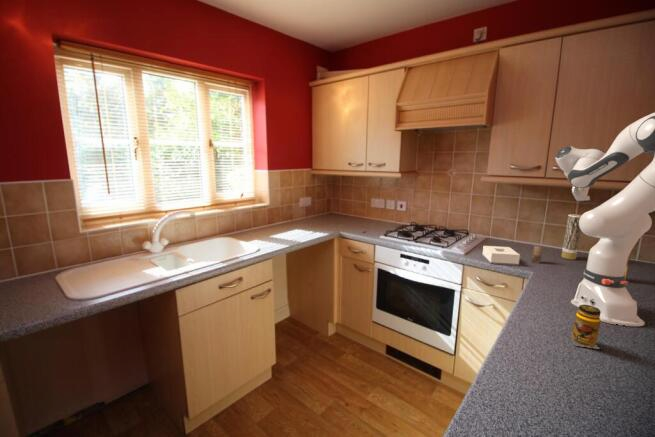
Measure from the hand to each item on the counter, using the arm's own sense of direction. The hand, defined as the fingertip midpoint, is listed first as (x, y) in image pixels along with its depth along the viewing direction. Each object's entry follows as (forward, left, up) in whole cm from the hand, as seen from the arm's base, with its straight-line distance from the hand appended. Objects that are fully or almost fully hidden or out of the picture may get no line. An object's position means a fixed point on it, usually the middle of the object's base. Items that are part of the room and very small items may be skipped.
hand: (589, 191), depth 157 cm
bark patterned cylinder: (+18, -6, -40) cm, 45 cm away
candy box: (-12, -9, -40) cm, 43 cm away
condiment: (-72, +37, -41) cm, 91 cm away
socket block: (+6, +35, -40) cm, 54 cm away
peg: (+7, +16, -40) cm, 44 cm away
